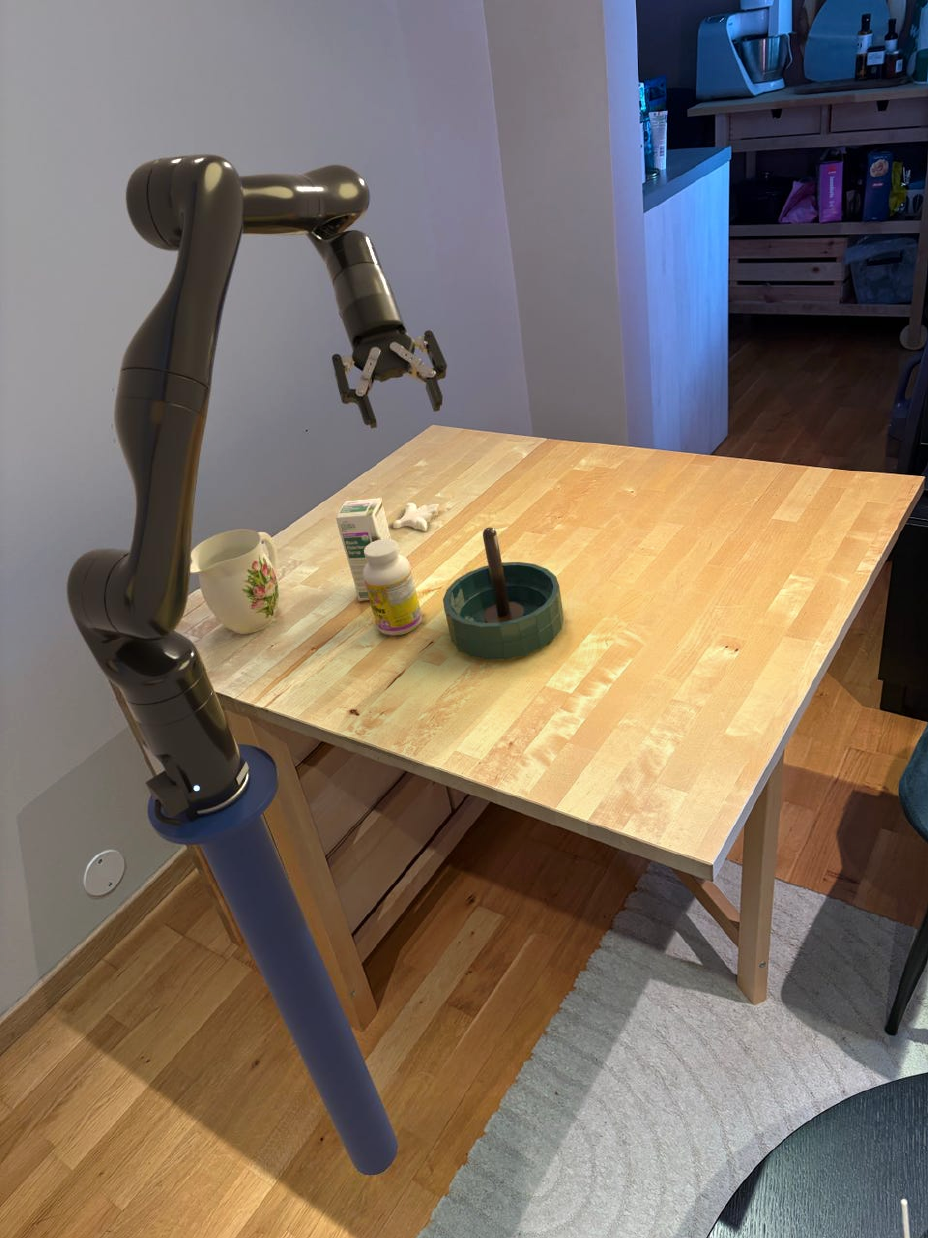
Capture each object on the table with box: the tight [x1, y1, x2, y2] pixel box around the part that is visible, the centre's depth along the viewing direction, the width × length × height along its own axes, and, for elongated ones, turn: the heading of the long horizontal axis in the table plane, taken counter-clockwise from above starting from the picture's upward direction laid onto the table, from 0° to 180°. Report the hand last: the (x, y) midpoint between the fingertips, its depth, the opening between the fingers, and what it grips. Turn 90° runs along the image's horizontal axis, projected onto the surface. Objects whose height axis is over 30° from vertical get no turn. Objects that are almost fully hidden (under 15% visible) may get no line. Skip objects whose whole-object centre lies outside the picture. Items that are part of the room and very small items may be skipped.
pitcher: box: [190, 528, 280, 635], centre depth 137 cm, size 11×18×14 cm, turn 158°
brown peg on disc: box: [482, 526, 525, 623], centre depth 122 cm, size 6×6×15 cm
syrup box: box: [335, 497, 392, 602], centre depth 137 cm, size 6×6×14 cm
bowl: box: [442, 561, 565, 661], centre depth 125 cm, size 16×16×6 cm
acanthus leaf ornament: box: [392, 502, 440, 532], centre depth 158 cm, size 8×7×2 cm
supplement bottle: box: [363, 538, 423, 636], centre depth 129 cm, size 7×7×13 cm
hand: (406, 416), depth 118 cm, fingers open, 8 cm apart
